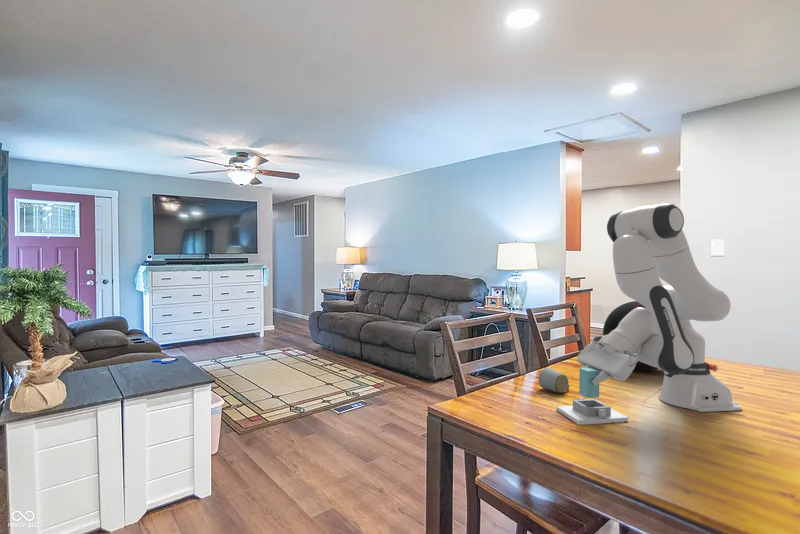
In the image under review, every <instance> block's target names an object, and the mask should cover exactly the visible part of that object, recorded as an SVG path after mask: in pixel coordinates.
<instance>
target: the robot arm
mask: <svg viewBox="0 0 800 534" xmlns="http://www.w3.org/2000/svg"><path fill="white" fill-rule="evenodd" d="M684 218H685V217H684V214H683V212H682V210H681V209H680V208H679V207H678V206H676V205H675V204H674V203H660V204H654V205H653V204H652V205H651V204H650V205H642V206H639V207H636V208H631V209H628V210H625V211H624V210H622V211H618V212H615V213H614V214H611V216H610V217H609V219H608V221H607V224H606V232H607V235H608V237H609V238H610V239H611V241H612V242H613V244H612V261H613V269H614V270H613V271H614V274H615V279H616V283H617V285H618V288H619V289H620V291H621V292H622V293H623V294H624V295H625V296H627V297H628V298H629V299H632V300H633V301H637V302H639V303H640V304H642V305H643V306H645V307H646V308H642V307H637V308H635V309H633V310H632V311H631V312H629V313H628V314H627V315H626V316H625V317H624V318H623V319H622V320H621V321H620V323H619V325H618V327H617V328H616V329H614V330H613V331H611V332H610V333H609V334H608V335H604V336H603V335H598V336H594V337H592V339H591V342H590V343H588V344H587V345H586V346H585V347H584V348H583V349H582V350H581V352H579V354H578V355H577V358H576V360H577V361H578V363H579V364H580V365H581V367H583V368H594V369H596V370H599V371H600V374H599V375H598V376H596V377H593V378H592V379H591V380H590V382H591V383H592V384H594V385H596V386H597V385H598V384H599V385H600V383H602V382H603V381H605V380H607V379H609V378H611V379H614V380H617V381H619V382H621V383H622V382H624V381H626V380H627V379H628V378H629V377H630V375H631V374H632V373H633V371H634V370H635V369H634V368H635V366H636V363H637V362H638V361H640V362H642V363H645V364H648V365H650V366H653V367H656V368H659V369H660V370H662V371H663V380H662V387H661V390H660V394H659V395H658V399H659V400H660V401H661V402H663V403H666V404H668V405H672V406H675V407H679V408H683V409H684V408H685V409H689V410H693V411H696V412H699V413H700V412H701V413H705V412H706V413H708V412H709V413H710V412H726V411H728V412H730V411H731V412H732V411H741V410H742V406H741V405H740V404H739V403H738V402H736V400H735V401H734V400H733V394H732V392H731V391H732V390H731V389H730V387H729V386H727V385H726V384H725V383H724V382H722V381H721V380H719V379H718V378H717V377H715V375H713V374H712V373H711V371H713V372H717V371H718V370H719V367H718V365H716V364H714V363H708V362H706V340H705V338H704V336H703V335H702V334H701V333H700V332H698V331H697V330H696V329H694V327H693V325H692V323H691V321H697V322H718V321H719V322H720V321H722V320H724V319H725V318H727V316H728V315H729V313H730V311H731V300H730V298H729V296H728V294H726V292H724V291H723V290H720V289H719V288H717V287H715V286H714V285H712V283H710V282H709V281H708V280H707V279H706V278H705V277H704V276H703V274H701V272H700V271H699V269H698V267H697V266H696V263H695V261H694V258H693V256H692V252H691V249H690V246H689V243H688V240H687V237H686V234H685V233H684V231H683V228H684V225H685V219H684ZM660 279H661V280H662V281H664V282H665V283H667V285H664V284H663V283H662V281H661V280H660ZM659 369H658V370H659Z"/></svg>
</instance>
